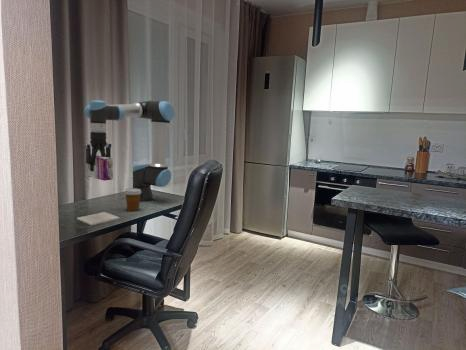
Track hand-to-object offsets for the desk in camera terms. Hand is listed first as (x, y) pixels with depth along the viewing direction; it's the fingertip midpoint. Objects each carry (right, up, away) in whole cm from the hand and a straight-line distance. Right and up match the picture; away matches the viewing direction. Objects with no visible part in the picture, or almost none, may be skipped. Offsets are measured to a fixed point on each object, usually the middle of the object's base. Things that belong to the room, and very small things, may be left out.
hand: (98, 176), depth 171 cm
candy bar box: (+8, +4, -6) cm, 11 cm away
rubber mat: (-2, -22, +5) cm, 23 cm away
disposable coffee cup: (+10, -20, +25) cm, 34 cm away
